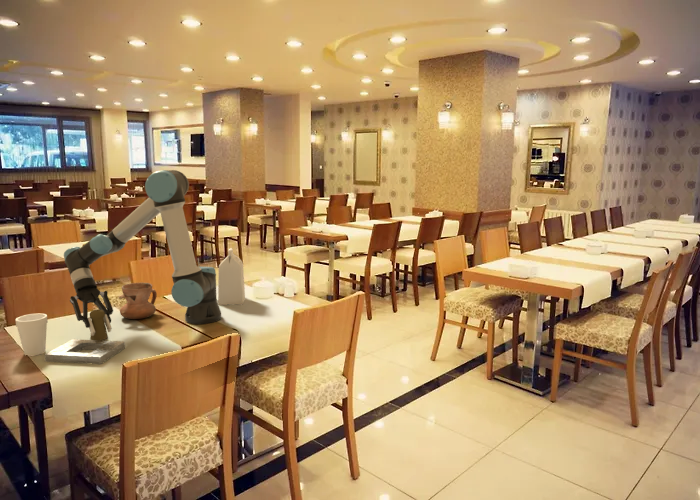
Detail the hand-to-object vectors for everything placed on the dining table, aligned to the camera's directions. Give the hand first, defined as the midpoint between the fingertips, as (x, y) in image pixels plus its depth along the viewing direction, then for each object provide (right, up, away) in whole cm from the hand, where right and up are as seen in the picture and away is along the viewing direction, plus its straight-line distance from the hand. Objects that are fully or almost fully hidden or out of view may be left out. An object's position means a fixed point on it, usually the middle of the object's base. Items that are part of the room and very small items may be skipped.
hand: (101, 331), depth 189 cm
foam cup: (-18, -6, -11) cm, 22 cm away
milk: (+36, +6, +57) cm, 68 cm away
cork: (-3, -3, +3) cm, 5 cm away
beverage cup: (+18, +7, +65) cm, 68 cm away
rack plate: (+1, -6, -12) cm, 14 cm away
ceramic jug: (+1, +1, +32) cm, 32 cm away
